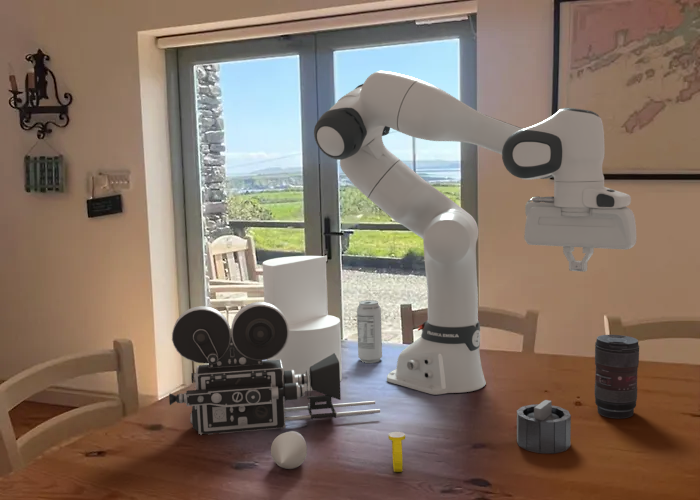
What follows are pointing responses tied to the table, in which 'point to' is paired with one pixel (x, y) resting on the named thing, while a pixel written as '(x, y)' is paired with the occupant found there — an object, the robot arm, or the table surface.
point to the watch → (397, 450)
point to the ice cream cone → (289, 450)
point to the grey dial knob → (543, 411)
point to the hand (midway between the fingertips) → (578, 270)
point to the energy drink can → (369, 331)
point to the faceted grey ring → (543, 431)
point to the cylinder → (302, 311)
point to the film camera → (248, 371)
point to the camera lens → (616, 375)
